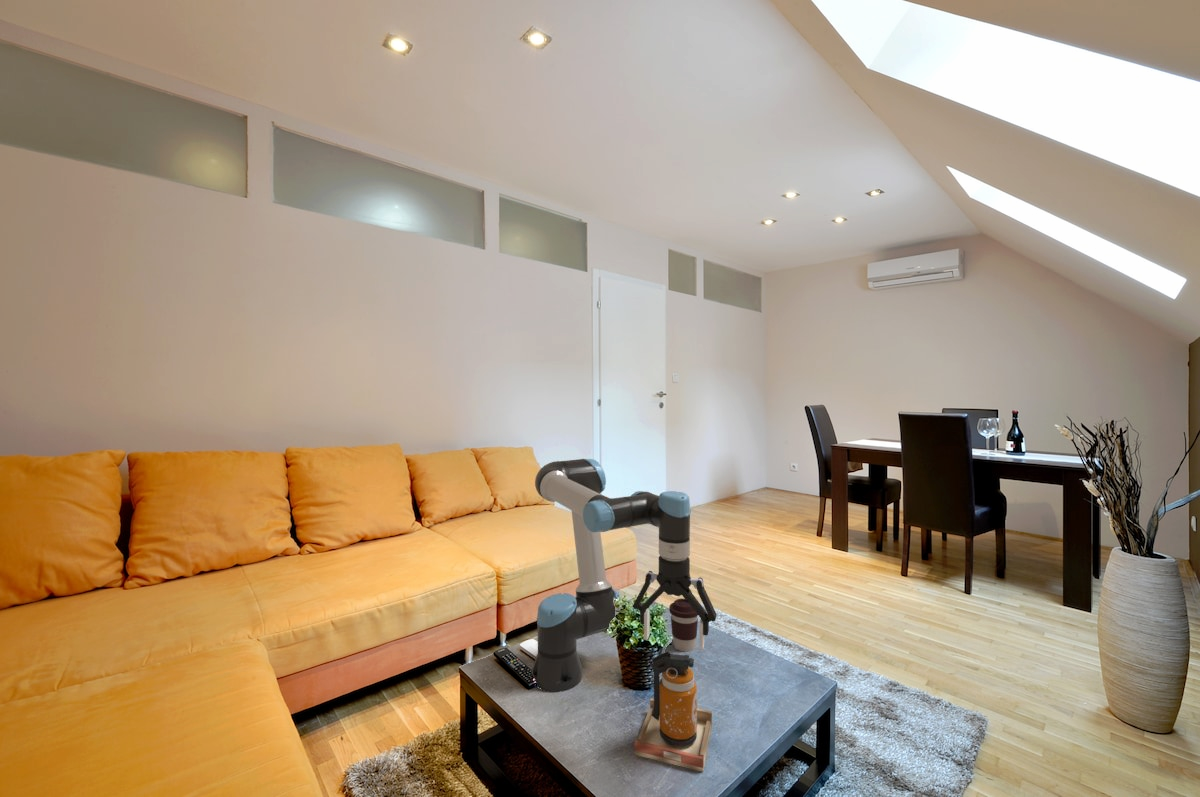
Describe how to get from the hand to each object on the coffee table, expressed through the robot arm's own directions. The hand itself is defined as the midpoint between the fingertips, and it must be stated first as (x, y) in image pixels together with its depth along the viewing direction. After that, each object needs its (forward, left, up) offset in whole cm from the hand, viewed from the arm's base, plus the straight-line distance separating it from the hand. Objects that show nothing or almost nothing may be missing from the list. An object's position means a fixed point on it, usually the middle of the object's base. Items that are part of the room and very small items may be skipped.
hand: (673, 642), depth 118 cm
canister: (0, 0, -23) cm, 23 cm away
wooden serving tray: (0, 0, -24) cm, 24 cm away
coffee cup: (-5, +44, -24) cm, 51 cm away
